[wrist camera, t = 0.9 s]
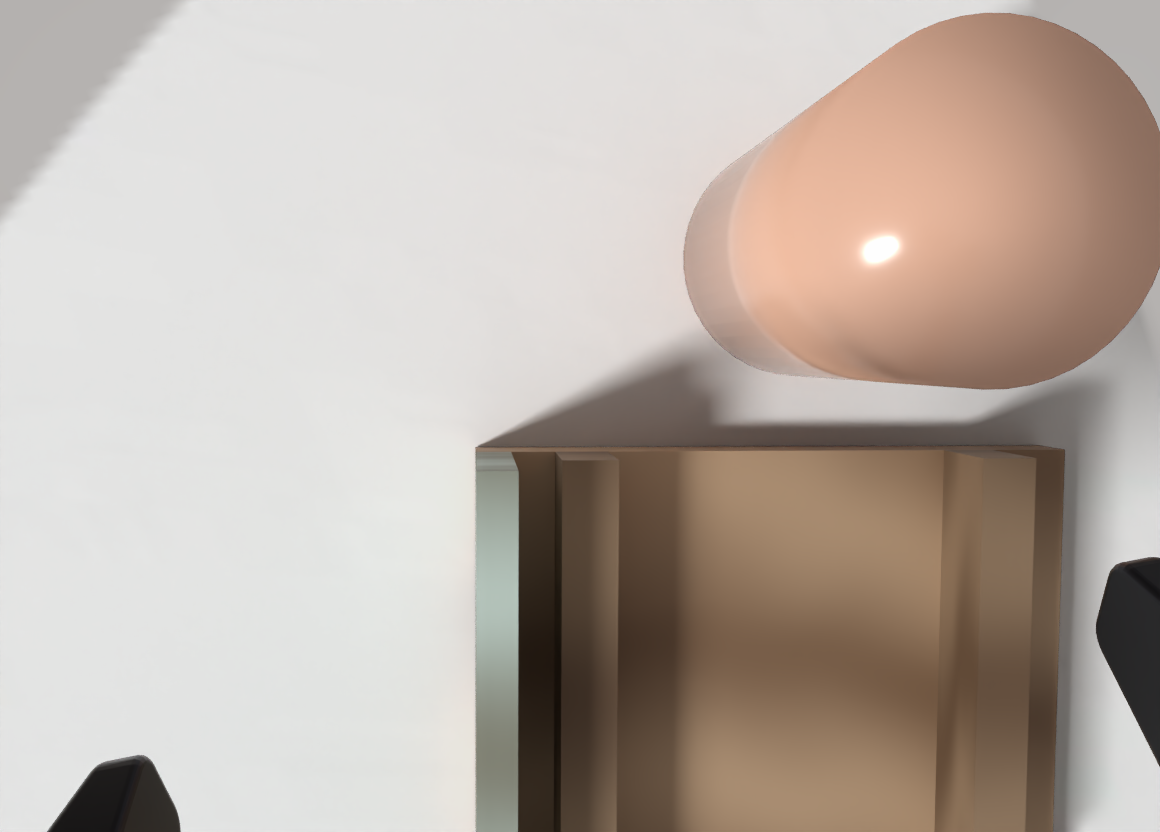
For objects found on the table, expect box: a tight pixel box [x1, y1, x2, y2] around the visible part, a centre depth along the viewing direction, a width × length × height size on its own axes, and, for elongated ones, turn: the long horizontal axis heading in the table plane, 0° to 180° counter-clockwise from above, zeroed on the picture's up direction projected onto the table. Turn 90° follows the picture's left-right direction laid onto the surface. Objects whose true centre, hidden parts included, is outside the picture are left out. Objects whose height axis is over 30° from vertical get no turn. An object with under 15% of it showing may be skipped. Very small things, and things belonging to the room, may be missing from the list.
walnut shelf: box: [476, 445, 1065, 832], centre depth 24 cm, size 11×14×5 cm
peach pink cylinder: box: [684, 13, 1160, 389], centre depth 21 cm, size 6×6×10 cm
